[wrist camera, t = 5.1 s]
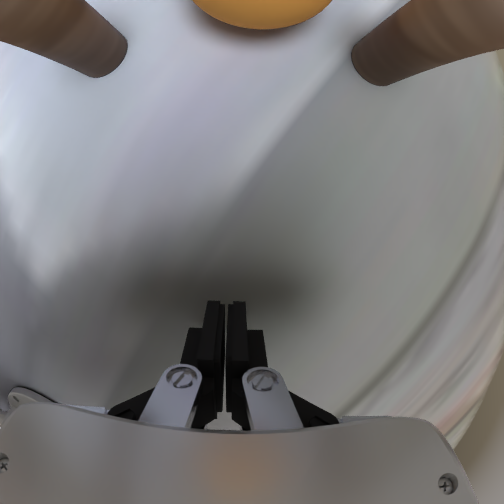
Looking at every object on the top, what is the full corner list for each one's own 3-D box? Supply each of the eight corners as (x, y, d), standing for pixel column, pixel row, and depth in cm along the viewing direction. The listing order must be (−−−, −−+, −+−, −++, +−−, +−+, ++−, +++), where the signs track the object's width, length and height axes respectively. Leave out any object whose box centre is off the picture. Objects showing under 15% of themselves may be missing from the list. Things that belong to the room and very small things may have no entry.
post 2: (352, 78, 10) (498, 5, 1) (350, 34, 9) (464, -58, 1) (398, 91, 10) (548, 60, 2) (395, 49, 9) (522, -7, 1)
